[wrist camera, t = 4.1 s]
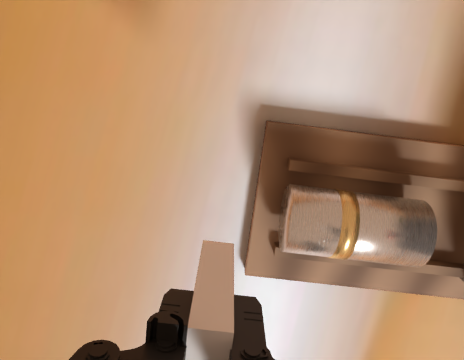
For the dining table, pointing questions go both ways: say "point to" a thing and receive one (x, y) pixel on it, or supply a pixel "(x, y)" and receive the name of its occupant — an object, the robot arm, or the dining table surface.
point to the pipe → (356, 226)
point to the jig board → (363, 181)
